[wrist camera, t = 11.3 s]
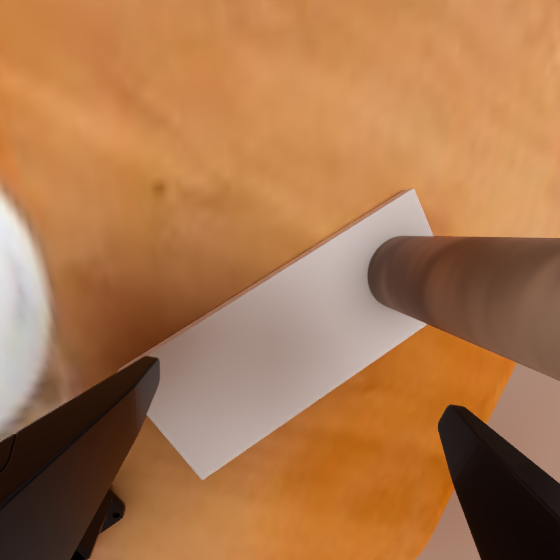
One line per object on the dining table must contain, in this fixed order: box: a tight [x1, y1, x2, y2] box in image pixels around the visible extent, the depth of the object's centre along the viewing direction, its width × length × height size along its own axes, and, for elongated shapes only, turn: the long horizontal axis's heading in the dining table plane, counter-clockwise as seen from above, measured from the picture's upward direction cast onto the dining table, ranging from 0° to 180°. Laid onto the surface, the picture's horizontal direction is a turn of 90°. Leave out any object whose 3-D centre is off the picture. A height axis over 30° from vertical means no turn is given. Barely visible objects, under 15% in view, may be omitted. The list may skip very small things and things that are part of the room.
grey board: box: [117, 188, 433, 480], centre depth 22 cm, size 24×10×1 cm, turn 121°
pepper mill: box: [367, 236, 560, 381], centre depth 15 cm, size 6×6×14 cm
